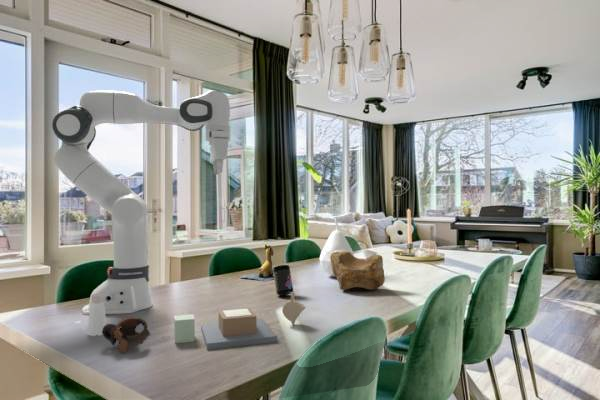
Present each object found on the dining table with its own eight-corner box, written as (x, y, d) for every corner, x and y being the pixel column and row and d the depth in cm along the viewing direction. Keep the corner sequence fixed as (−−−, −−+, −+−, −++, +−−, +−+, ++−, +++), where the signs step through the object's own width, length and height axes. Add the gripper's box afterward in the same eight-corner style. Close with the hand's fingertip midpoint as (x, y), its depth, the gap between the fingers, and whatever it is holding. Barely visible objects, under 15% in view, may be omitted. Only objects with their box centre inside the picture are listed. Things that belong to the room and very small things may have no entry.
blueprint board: (207, 349, 107) (206, 324, 107) (201, 329, 125) (200, 307, 125) (277, 341, 113) (276, 318, 113) (262, 323, 130) (261, 302, 130)
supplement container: (284, 291, 161) (280, 264, 165) (272, 295, 165) (269, 269, 169) (297, 291, 166) (293, 265, 170) (285, 296, 170) (281, 270, 174)
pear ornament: (314, 278, 202) (313, 219, 202) (332, 271, 222) (332, 217, 223) (347, 281, 195) (346, 219, 195) (363, 273, 215) (362, 217, 215)
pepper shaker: (83, 334, 121) (83, 294, 121) (103, 330, 125) (103, 291, 125) (90, 338, 117) (90, 297, 117) (111, 334, 121) (110, 294, 121)
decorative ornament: (293, 319, 131) (277, 311, 130) (307, 297, 130) (292, 289, 129) (293, 326, 127) (277, 318, 126) (308, 304, 126) (292, 295, 125)
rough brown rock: (319, 291, 175) (318, 254, 175) (334, 284, 190) (334, 250, 190) (375, 296, 165) (374, 257, 165) (386, 288, 180) (386, 252, 180)
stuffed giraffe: (287, 276, 212) (287, 244, 212) (266, 282, 196) (265, 247, 196) (260, 274, 220) (260, 242, 220) (238, 279, 204) (238, 246, 204)
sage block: (174, 343, 112) (174, 320, 112) (174, 338, 117) (174, 315, 117) (194, 341, 114) (194, 318, 114) (193, 336, 119) (193, 314, 119)
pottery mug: (153, 340, 115) (155, 317, 112) (141, 368, 107) (143, 344, 103) (107, 332, 114) (108, 308, 111) (91, 359, 106) (92, 335, 102)
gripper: (206, 139, 167) (206, 175, 167) (212, 131, 148) (212, 171, 148) (222, 140, 169) (222, 175, 169) (230, 132, 150) (230, 171, 150)
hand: (218, 173), depth 158 cm, fingers open, 8 cm apart
